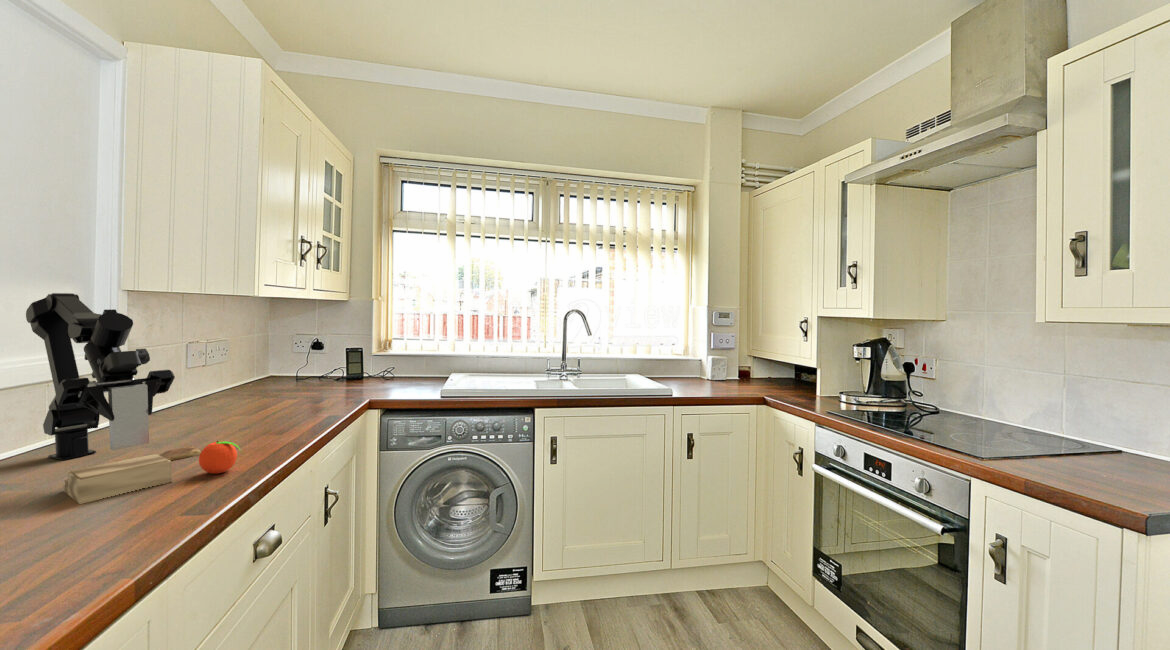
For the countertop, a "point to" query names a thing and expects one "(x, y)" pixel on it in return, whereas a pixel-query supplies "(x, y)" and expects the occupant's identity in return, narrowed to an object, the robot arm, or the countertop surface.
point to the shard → (181, 453)
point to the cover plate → (128, 416)
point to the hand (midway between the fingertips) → (132, 416)
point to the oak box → (117, 478)
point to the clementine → (218, 457)
